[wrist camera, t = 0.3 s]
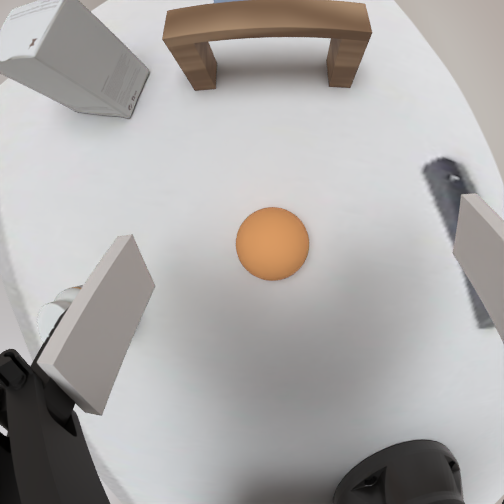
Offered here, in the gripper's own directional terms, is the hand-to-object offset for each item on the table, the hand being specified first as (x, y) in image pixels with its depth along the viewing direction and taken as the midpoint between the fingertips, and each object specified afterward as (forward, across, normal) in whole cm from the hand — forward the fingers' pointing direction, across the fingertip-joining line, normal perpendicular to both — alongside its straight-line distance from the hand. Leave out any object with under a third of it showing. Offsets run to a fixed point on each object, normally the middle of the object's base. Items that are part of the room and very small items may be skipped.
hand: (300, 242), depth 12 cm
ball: (+10, +2, +7) cm, 12 cm away
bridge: (+21, +1, -5) cm, 22 cm away
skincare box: (+22, +18, -8) cm, 29 cm away
